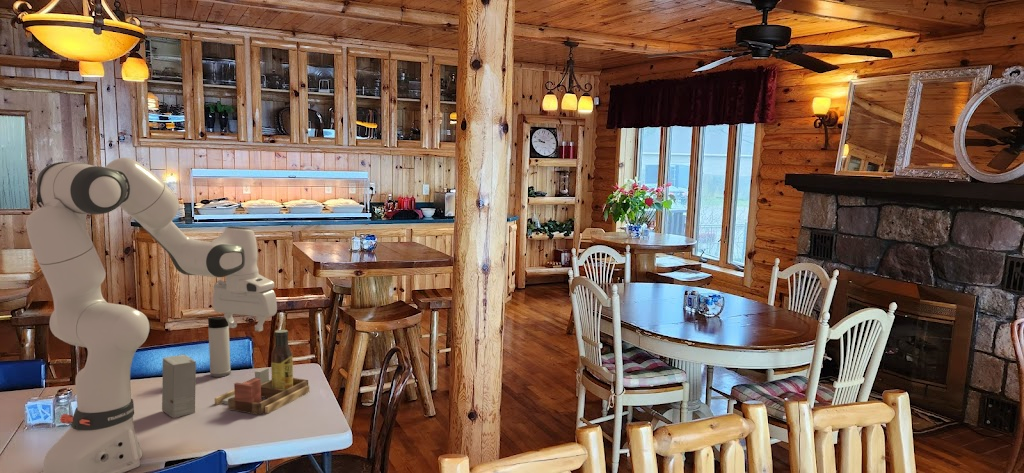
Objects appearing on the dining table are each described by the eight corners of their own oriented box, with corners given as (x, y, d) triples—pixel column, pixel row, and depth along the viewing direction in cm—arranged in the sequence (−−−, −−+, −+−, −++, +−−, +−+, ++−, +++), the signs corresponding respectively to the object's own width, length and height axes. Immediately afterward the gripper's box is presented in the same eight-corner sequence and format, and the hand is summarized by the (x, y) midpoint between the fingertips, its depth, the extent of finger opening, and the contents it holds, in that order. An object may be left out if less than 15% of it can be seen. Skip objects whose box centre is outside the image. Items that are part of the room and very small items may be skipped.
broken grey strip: (232, 405, 197) (231, 385, 196) (222, 403, 198) (221, 383, 198) (272, 386, 213) (271, 368, 213) (262, 384, 215) (262, 366, 214)
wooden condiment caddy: (259, 414, 189) (258, 387, 188) (228, 409, 193) (227, 382, 192) (308, 389, 210) (307, 364, 209) (279, 384, 214) (279, 360, 213)
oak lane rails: (267, 413, 191) (267, 407, 191) (214, 404, 197) (214, 398, 197) (309, 392, 209) (309, 385, 208) (259, 384, 215) (259, 378, 215)
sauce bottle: (289, 397, 204) (287, 334, 201) (268, 397, 204) (266, 333, 202) (296, 389, 210) (294, 328, 208) (276, 389, 210) (274, 328, 208)
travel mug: (205, 377, 222) (203, 318, 219) (217, 370, 228) (215, 313, 226) (223, 378, 221) (220, 319, 218) (234, 371, 227) (232, 314, 225)
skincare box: (161, 411, 192) (158, 358, 190) (187, 404, 197) (184, 352, 195) (172, 419, 186) (170, 364, 184) (199, 412, 191) (196, 359, 190)
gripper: (205, 282, 190) (209, 328, 192) (263, 287, 184) (266, 335, 186) (222, 277, 196) (225, 323, 198) (279, 282, 189) (281, 329, 191)
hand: (245, 329), depth 192 cm, fingers open, 8 cm apart
